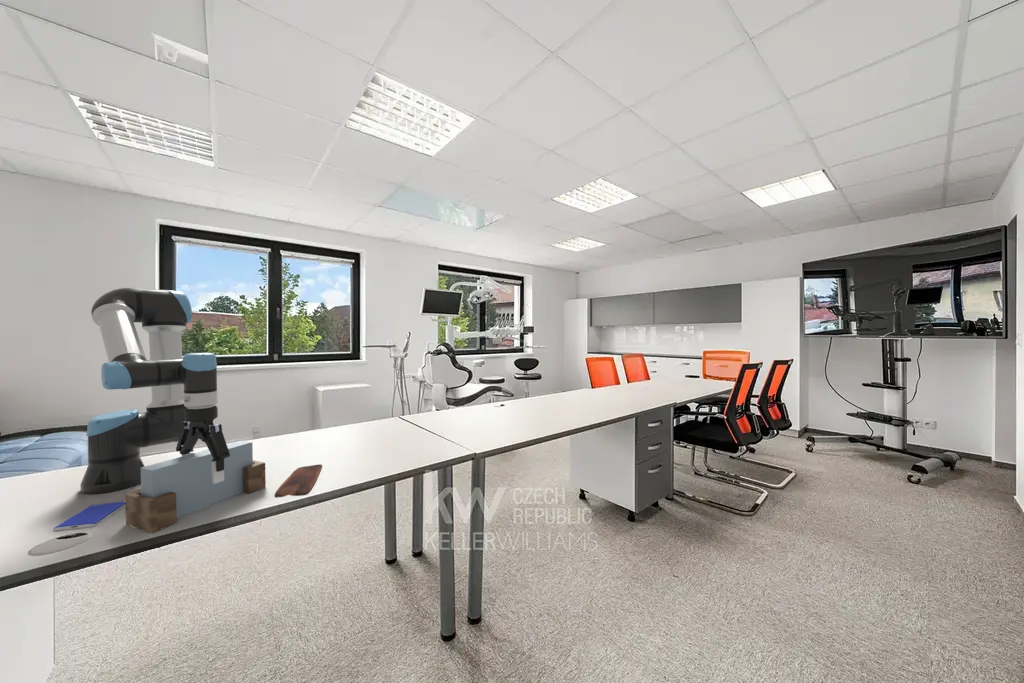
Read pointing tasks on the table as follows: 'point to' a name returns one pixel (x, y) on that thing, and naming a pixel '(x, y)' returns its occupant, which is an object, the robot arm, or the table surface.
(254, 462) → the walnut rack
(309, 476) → the wooden tablet
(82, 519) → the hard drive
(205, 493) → the slate panel
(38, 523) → the table surface
